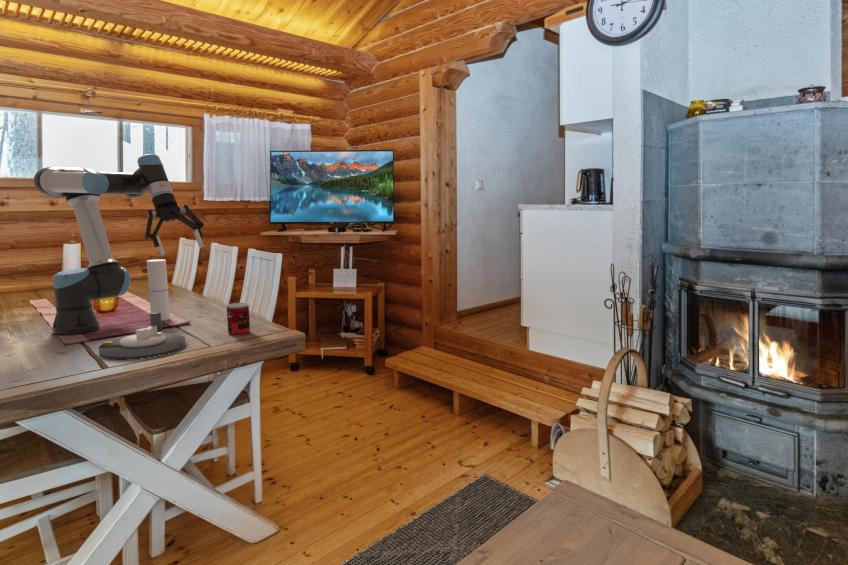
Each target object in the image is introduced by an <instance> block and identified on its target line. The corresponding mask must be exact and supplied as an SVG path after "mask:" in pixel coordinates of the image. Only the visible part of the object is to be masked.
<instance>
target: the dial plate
mask: <svg viewBox="0 0 848 565" xmlns="http://www.w3.org/2000/svg"><path fill="white" fill-rule="evenodd" d="M158 333H159V334H164V335H166V341H165V342H163V343H160V344H157V345H153V346H147V347H137V348H128V347H122V346H120V342H119V341H120V340H121V339H122V338H125V337H128V336H129V335H128V336H127V335H126V336H124V337H117V338H114V339H111V340H107V341H104V342H103V343H102V344H101V345H99V346H98V353H99V356H100V357H101V358H103V359H106V358H107V359H108V360H113V359H115V361H128V360H127V359H135V360H141V359H140V358H145V359H149V358H148V357H152V358H155V357H154V356H157V357H160V356H159V355H162V356H165V355H164V354H166V355H169V354H168V353H170V354H173V353H176V352H178V351H180V350H182V349H184V348H185V347H186V344H187V343H186V337H185V336H184V335H182V334H178V333H171V332H163V331H161V332H158ZM175 351H176V352H175ZM172 352H173V353H172Z"/></svg>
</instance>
